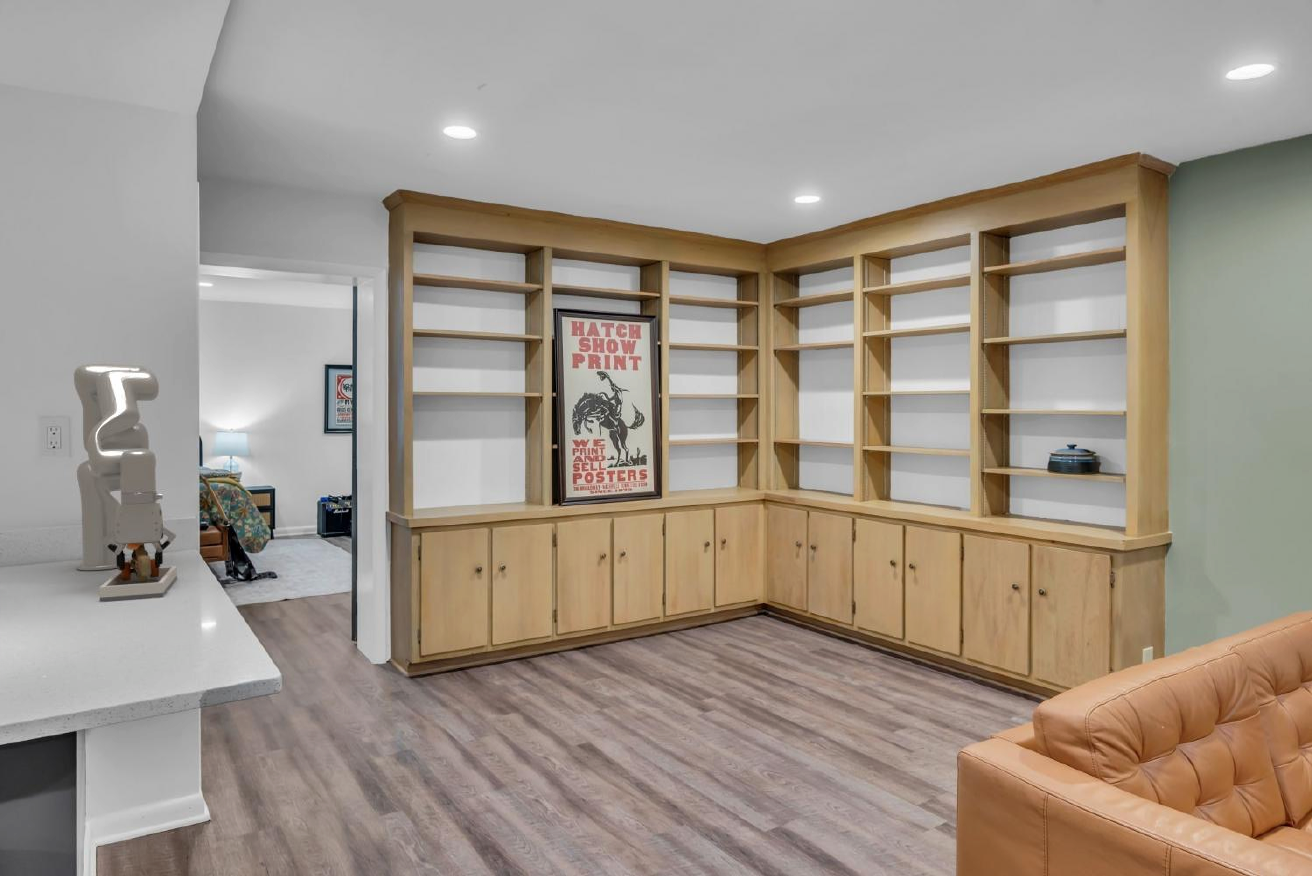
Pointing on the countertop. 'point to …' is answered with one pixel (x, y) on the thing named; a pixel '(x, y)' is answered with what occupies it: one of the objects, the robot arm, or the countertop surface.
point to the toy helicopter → (139, 564)
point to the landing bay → (138, 586)
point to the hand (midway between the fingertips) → (140, 567)
